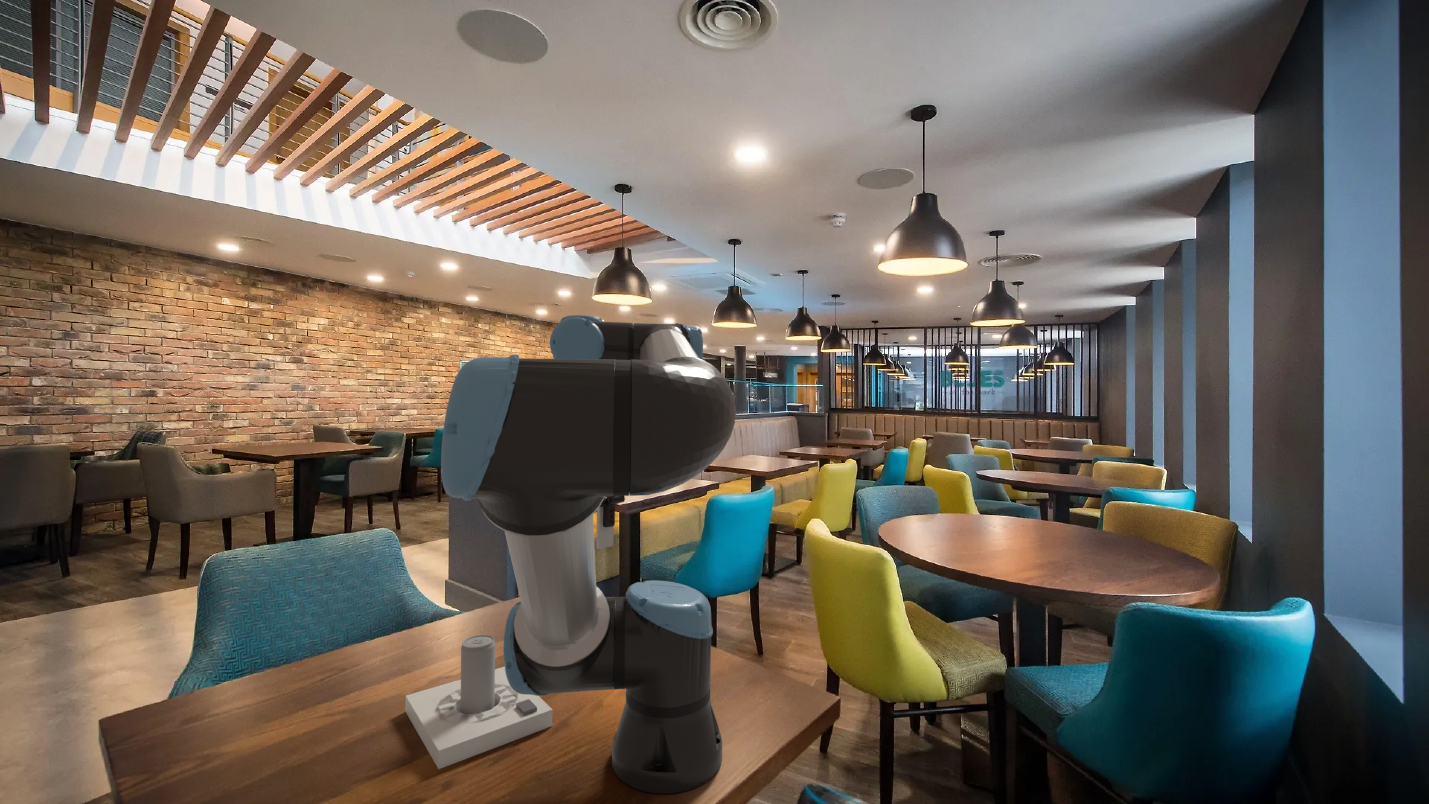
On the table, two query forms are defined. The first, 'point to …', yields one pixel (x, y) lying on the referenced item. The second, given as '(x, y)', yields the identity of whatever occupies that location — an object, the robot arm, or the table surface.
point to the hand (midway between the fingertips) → (580, 540)
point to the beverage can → (477, 674)
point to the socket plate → (473, 720)
